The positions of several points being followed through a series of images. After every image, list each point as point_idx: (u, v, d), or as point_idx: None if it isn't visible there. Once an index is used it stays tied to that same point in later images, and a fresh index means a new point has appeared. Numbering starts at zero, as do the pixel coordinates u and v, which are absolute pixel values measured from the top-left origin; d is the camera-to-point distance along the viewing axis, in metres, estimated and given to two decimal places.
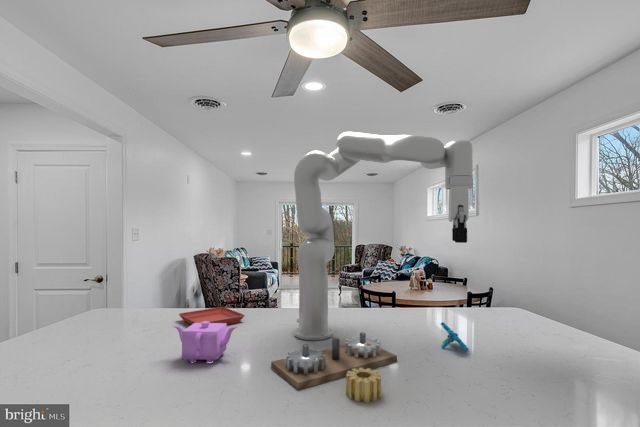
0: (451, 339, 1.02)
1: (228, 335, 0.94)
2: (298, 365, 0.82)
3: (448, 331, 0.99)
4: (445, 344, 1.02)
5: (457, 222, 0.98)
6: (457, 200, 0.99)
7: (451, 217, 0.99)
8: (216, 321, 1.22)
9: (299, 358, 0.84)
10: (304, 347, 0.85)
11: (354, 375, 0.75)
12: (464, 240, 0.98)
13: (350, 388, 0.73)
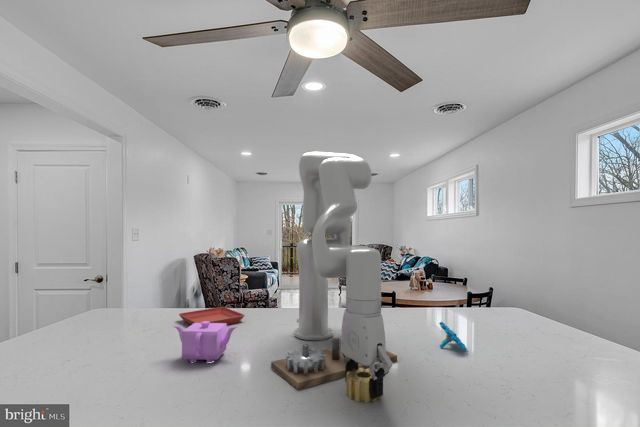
0: (449, 339, 1.02)
1: (228, 335, 0.94)
2: (298, 365, 0.82)
3: (446, 331, 0.99)
4: (443, 344, 1.02)
5: (375, 371, 0.71)
6: (376, 337, 0.71)
7: (369, 362, 0.70)
8: (216, 321, 1.22)
9: (299, 358, 0.84)
10: (304, 347, 0.85)
11: (354, 375, 0.75)
12: None
13: (350, 388, 0.73)
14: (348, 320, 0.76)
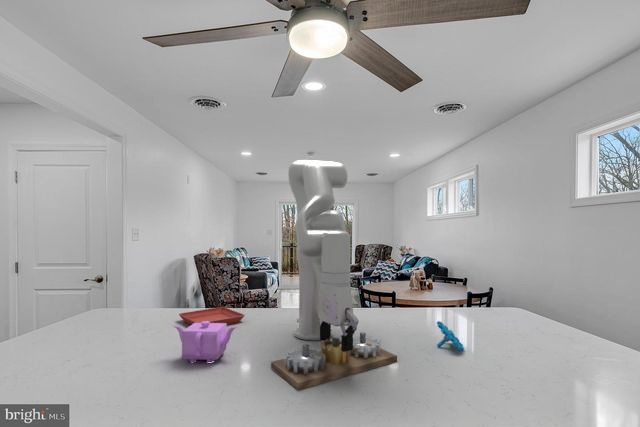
0: (446, 338, 1.02)
1: (228, 335, 0.94)
2: (298, 365, 0.82)
3: (442, 330, 1.00)
4: (440, 343, 1.03)
5: (345, 328, 0.86)
6: (344, 303, 0.87)
7: (338, 323, 0.86)
8: (216, 321, 1.22)
9: (299, 358, 0.84)
10: (304, 347, 0.85)
11: (328, 343, 0.91)
12: (350, 347, 0.87)
13: (324, 353, 0.89)
14: (323, 290, 0.91)
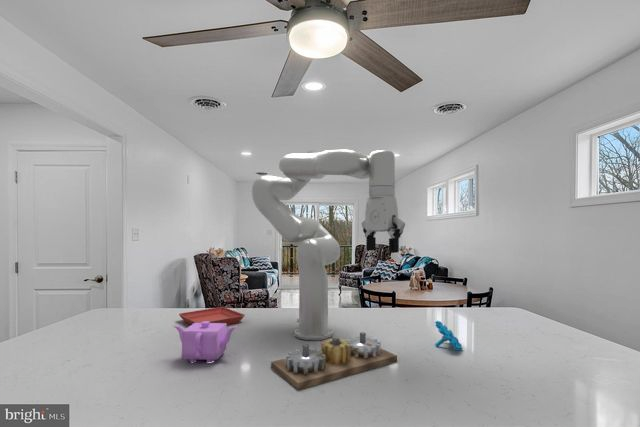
0: (444, 338, 1.03)
1: (228, 335, 0.94)
2: (298, 365, 0.82)
3: (439, 329, 1.00)
4: (439, 342, 1.03)
5: None
6: (391, 210, 0.99)
7: (387, 227, 0.98)
8: (216, 321, 1.22)
9: (299, 358, 0.84)
10: (304, 347, 0.85)
11: (328, 343, 0.91)
12: (396, 250, 0.99)
13: (324, 353, 0.89)
14: (370, 203, 1.03)
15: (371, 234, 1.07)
